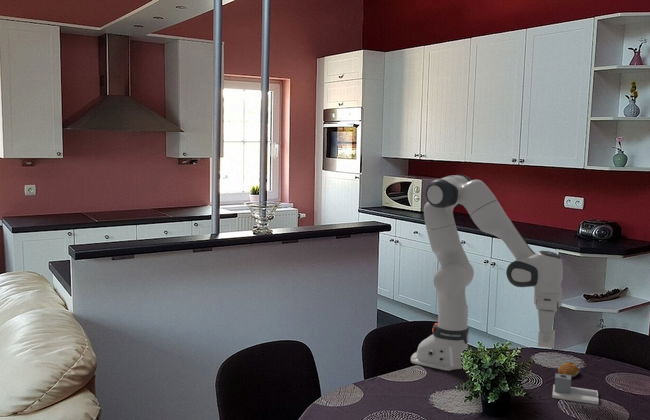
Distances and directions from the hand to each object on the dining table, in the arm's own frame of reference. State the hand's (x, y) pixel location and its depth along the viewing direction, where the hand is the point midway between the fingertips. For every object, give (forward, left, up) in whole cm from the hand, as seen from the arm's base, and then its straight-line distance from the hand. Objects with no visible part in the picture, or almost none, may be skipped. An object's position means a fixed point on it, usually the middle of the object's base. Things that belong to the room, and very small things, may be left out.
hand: (546, 339), depth 210 cm
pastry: (+8, +20, -18) cm, 28 cm away
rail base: (+10, -1, -18) cm, 20 cm away
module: (0, 0, -2) cm, 2 cm away
